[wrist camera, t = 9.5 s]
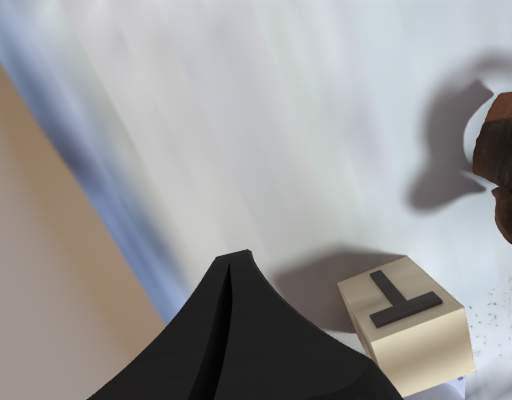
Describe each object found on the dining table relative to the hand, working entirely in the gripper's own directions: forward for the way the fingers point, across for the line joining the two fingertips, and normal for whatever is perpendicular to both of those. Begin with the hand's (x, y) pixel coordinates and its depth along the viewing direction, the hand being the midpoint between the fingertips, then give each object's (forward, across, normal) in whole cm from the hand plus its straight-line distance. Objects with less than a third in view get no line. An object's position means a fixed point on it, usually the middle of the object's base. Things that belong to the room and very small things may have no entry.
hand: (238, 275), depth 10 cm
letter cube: (+10, -10, +12) cm, 18 cm away
